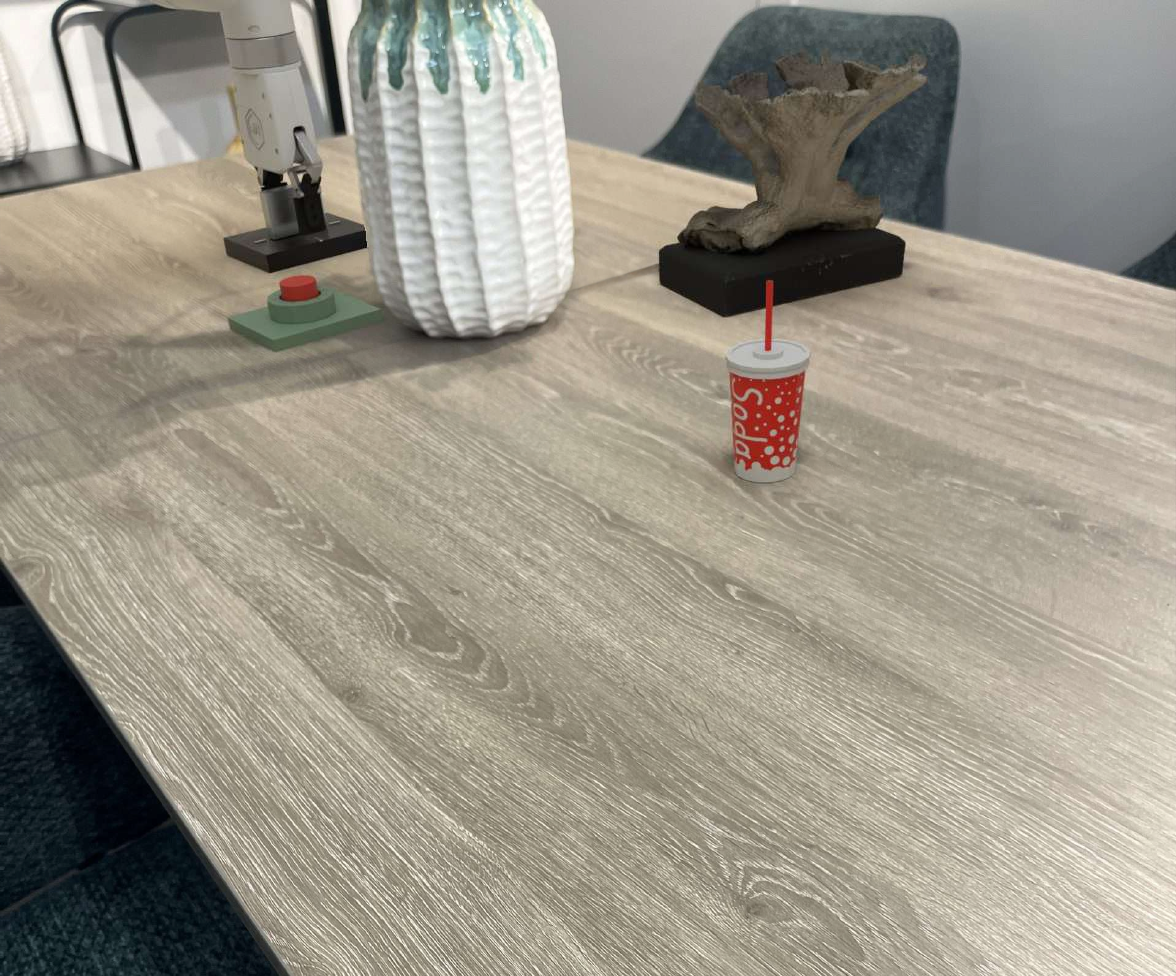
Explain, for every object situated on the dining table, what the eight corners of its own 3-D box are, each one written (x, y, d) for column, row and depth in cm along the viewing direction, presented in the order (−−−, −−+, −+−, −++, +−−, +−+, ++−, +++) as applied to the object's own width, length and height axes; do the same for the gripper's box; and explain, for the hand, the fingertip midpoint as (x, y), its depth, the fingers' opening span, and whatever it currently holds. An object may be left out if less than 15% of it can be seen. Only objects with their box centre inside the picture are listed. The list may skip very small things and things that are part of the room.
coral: (854, 241, 143) (869, 21, 130) (968, 287, 128) (997, 43, 115) (655, 281, 136) (649, 52, 123) (751, 335, 121) (756, 81, 108)
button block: (278, 362, 123) (269, 320, 121) (232, 339, 130) (222, 299, 127) (384, 331, 129) (377, 290, 126) (335, 309, 135) (328, 270, 133)
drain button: (293, 307, 125) (289, 288, 124) (276, 299, 127) (272, 281, 126) (325, 298, 127) (322, 279, 125) (308, 290, 129) (304, 272, 128)
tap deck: (272, 282, 144) (266, 253, 142) (228, 264, 151) (222, 236, 150) (378, 254, 151) (373, 226, 149) (331, 237, 158) (326, 210, 156)
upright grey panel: (274, 240, 147) (264, 191, 144) (268, 237, 148) (258, 189, 145) (327, 226, 150) (319, 179, 147) (320, 224, 151) (312, 177, 148)
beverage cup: (711, 463, 99) (710, 277, 90) (781, 447, 100) (788, 263, 92) (746, 493, 94) (750, 300, 86) (820, 476, 96) (830, 285, 87)
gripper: (197, 52, 142) (234, 221, 153) (270, 66, 131) (304, 247, 142) (258, 41, 145) (290, 208, 156) (334, 54, 134) (362, 232, 145)
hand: (296, 225), depth 149 cm, fingers open, 7 cm apart
